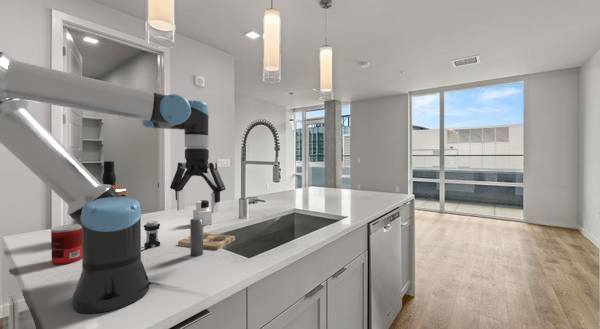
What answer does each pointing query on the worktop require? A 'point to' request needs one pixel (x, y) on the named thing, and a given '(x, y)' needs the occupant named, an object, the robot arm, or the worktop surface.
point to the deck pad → (187, 256)
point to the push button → (151, 235)
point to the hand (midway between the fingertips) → (197, 211)
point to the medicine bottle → (203, 212)
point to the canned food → (66, 244)
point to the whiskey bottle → (111, 177)
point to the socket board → (210, 241)
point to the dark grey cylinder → (196, 237)
